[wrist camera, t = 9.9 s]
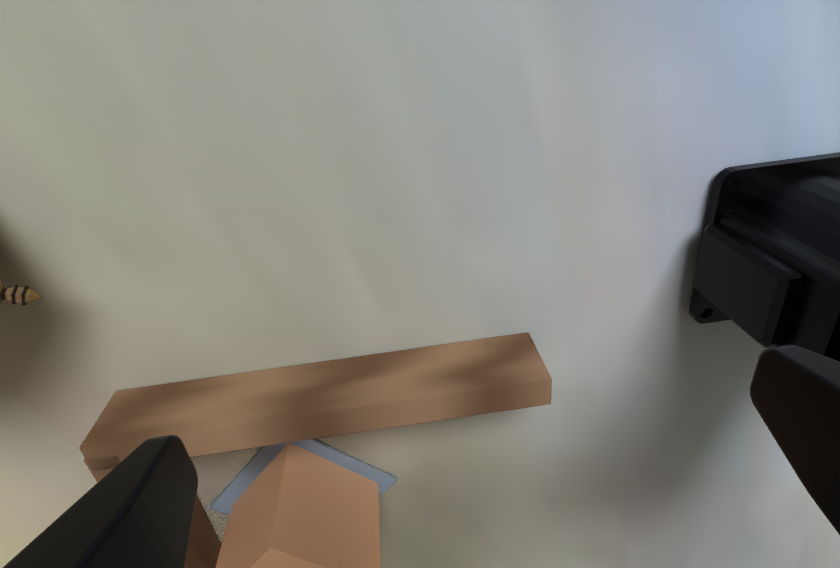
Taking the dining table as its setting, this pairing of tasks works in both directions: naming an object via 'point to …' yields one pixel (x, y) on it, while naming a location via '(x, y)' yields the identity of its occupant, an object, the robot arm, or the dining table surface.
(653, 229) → the dining table surface
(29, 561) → the robot arm
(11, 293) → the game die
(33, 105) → the dining table surface
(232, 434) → the arena
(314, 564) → the cube
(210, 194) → the dining table surface
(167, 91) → the dining table surface
